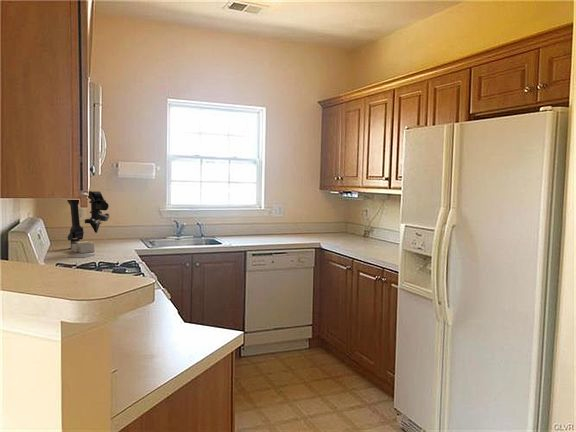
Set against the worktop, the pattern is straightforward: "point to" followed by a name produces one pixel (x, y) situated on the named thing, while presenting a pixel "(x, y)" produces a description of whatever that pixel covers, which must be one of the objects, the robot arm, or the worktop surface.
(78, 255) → the mat
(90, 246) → the coffee box
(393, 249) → the worktop surface
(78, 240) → the robot arm
